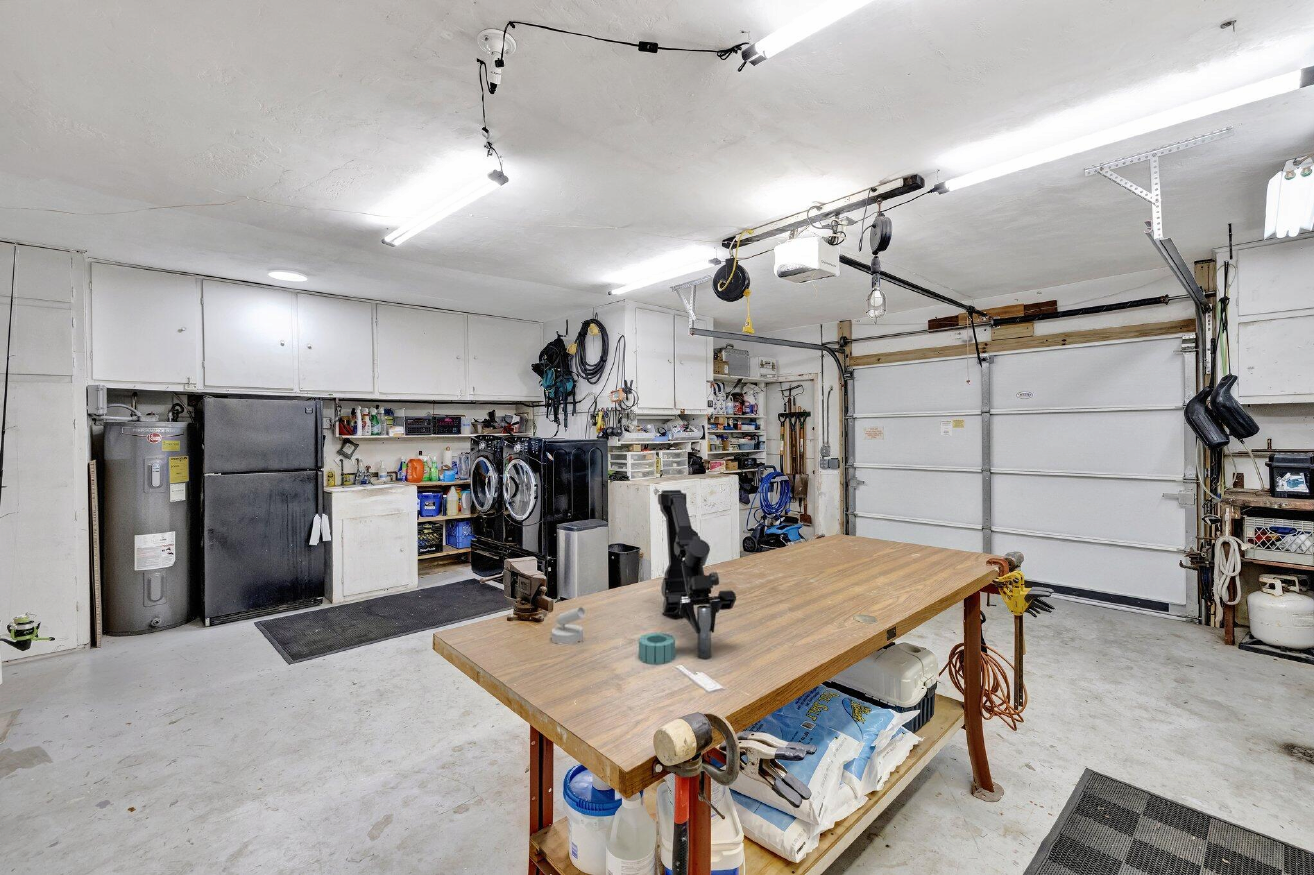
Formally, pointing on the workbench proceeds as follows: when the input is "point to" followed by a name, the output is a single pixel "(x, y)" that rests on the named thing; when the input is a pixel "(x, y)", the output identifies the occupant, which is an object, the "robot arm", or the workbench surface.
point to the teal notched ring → (656, 648)
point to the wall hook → (568, 627)
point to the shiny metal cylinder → (704, 632)
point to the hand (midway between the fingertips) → (705, 632)
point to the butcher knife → (701, 680)
